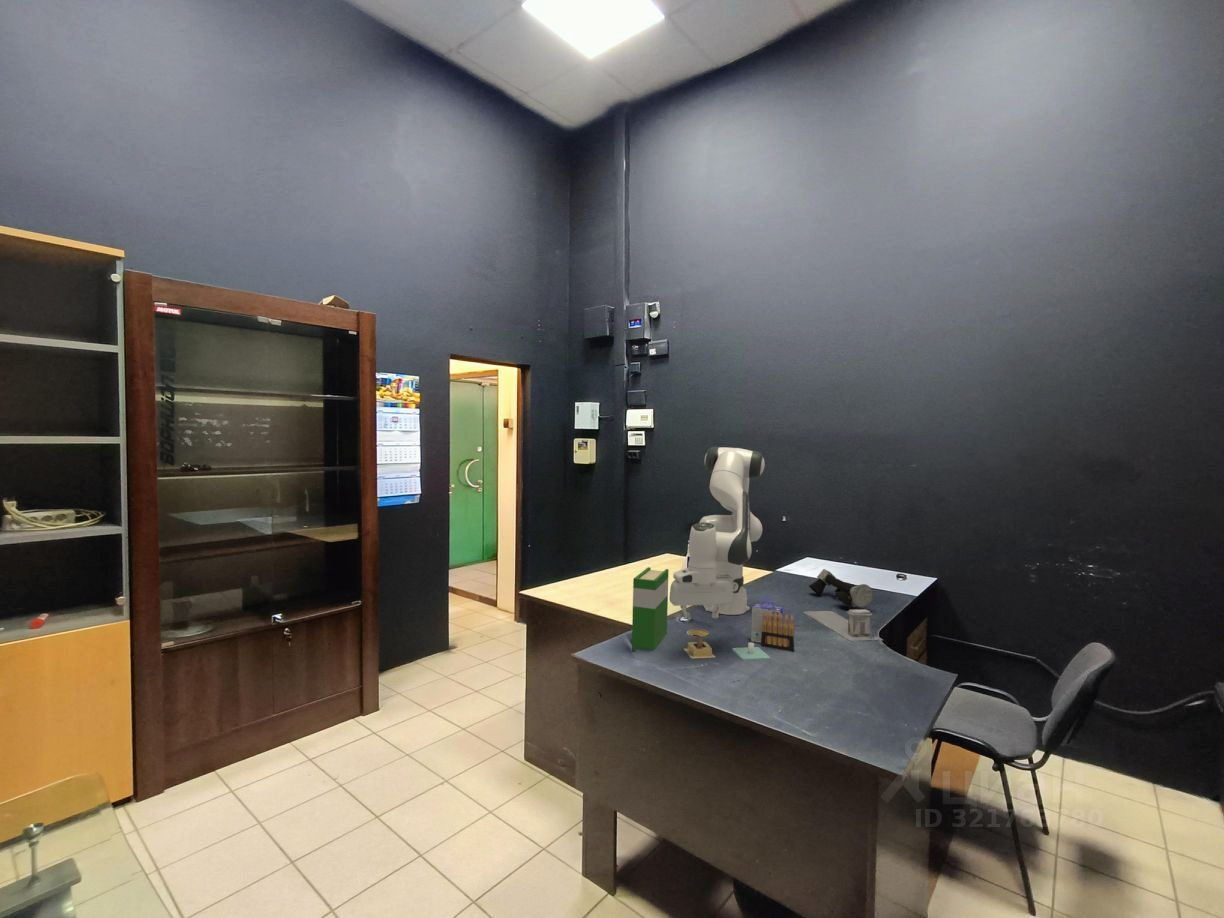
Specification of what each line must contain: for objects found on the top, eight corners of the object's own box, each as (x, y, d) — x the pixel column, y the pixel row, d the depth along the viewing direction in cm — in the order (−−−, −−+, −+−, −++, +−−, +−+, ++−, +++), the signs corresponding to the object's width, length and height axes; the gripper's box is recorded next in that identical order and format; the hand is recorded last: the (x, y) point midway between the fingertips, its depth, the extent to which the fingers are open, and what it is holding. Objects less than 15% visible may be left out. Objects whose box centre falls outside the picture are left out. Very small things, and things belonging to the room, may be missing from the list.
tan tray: (687, 649, 179) (687, 642, 179) (705, 648, 180) (705, 641, 180) (693, 656, 173) (693, 649, 173) (711, 656, 174) (711, 648, 174)
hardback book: (646, 634, 197) (648, 567, 196) (666, 637, 194) (668, 569, 193) (631, 652, 180) (633, 578, 179) (653, 655, 178) (655, 580, 177)
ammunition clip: (760, 646, 188) (761, 611, 187) (761, 644, 189) (762, 609, 189) (793, 651, 183) (794, 615, 183) (794, 650, 185) (795, 614, 185)
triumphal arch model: (851, 642, 194) (852, 615, 194) (803, 613, 227) (803, 590, 226) (883, 641, 196) (884, 614, 196) (831, 612, 229) (831, 589, 228)
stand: (683, 653, 180) (684, 633, 180) (707, 652, 181) (707, 632, 181) (691, 663, 172) (691, 642, 172) (715, 661, 173) (716, 641, 173)
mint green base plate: (731, 654, 180) (732, 638, 180) (757, 653, 181) (758, 637, 181) (742, 665, 171) (743, 649, 171) (770, 663, 173) (770, 648, 172)
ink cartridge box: (782, 641, 192) (784, 600, 192) (780, 647, 187) (781, 604, 187) (753, 636, 197) (755, 596, 196) (750, 641, 192) (751, 600, 191)
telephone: (866, 626, 229) (825, 603, 258) (886, 602, 230) (843, 582, 259) (842, 603, 226) (804, 582, 255) (862, 579, 227) (821, 561, 256)
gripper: (729, 572, 180) (728, 614, 181) (668, 573, 177) (667, 616, 177) (737, 576, 174) (735, 620, 174) (674, 577, 171) (673, 622, 171)
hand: (700, 618), depth 176 cm, fingers open, 8 cm apart
